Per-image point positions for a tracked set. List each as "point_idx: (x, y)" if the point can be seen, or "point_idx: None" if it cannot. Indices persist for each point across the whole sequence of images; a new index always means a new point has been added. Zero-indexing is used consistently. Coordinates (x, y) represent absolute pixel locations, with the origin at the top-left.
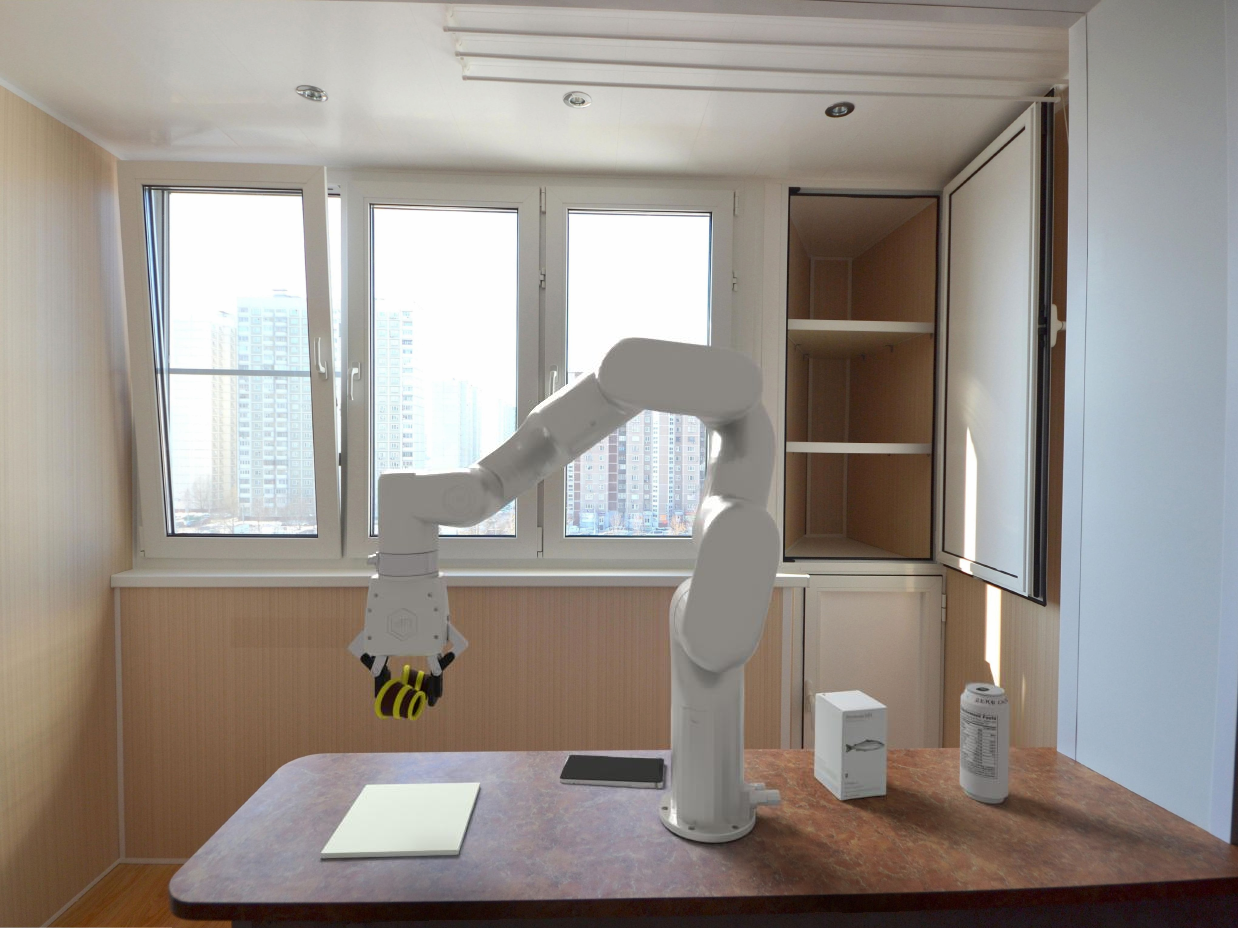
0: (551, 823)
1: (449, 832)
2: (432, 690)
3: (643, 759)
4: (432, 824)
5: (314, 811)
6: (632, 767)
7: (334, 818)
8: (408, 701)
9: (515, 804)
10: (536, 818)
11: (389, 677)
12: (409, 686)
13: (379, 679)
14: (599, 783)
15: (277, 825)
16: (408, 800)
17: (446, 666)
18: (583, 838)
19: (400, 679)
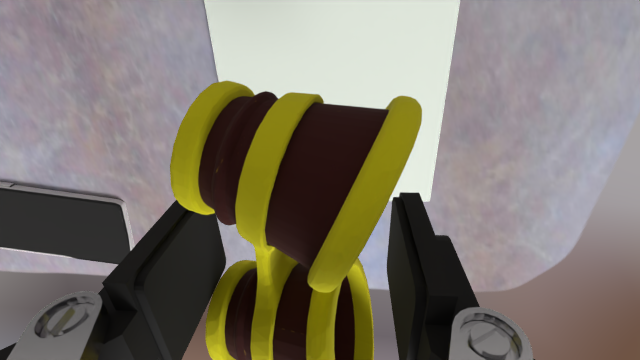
0: (86, 83)
1: (237, 43)
2: (155, 228)
3: (18, 245)
4: (276, 71)
5: (505, 133)
6: (24, 226)
7: (463, 110)
8: (230, 119)
9: (167, 142)
10: (117, 99)
11: (400, 336)
12: (243, 223)
13: (443, 282)
14: (60, 192)
15: (567, 89)
16: None
17: (6, 350)
18: (15, 35)
19: (311, 283)
